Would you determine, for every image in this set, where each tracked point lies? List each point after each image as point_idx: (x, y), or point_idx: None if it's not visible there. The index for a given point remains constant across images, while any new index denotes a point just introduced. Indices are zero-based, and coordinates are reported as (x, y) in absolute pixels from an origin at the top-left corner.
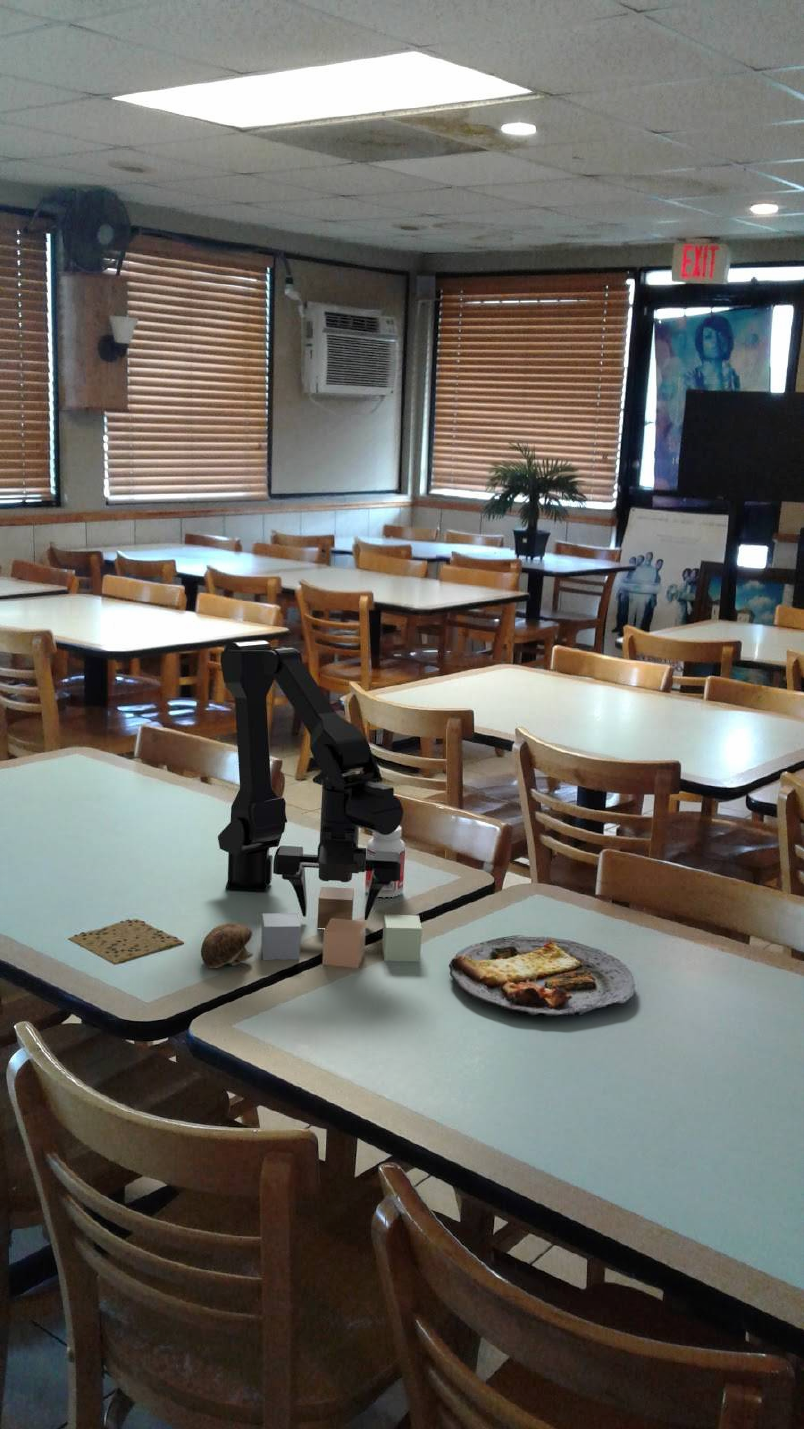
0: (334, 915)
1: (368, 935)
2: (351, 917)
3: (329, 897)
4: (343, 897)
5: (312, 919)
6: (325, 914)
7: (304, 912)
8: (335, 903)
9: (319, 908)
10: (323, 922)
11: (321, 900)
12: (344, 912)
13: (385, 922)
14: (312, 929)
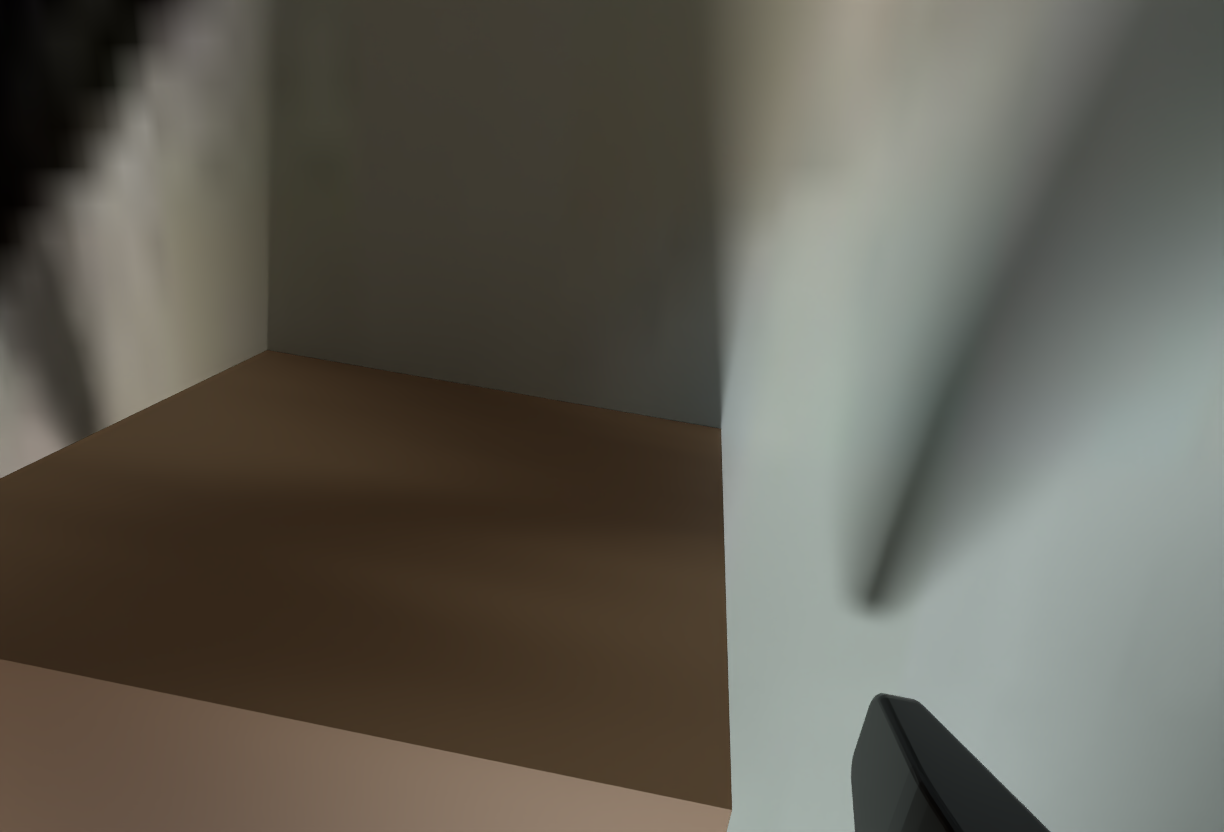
0: (412, 479)
1: (24, 199)
2: (127, 421)
3: (394, 824)
4: (13, 787)
5: (740, 737)
6: (577, 516)
7: (917, 731)
8: (280, 615)
9: (695, 602)
10: (625, 460)
11: (643, 732)
12: (193, 476)
13: None
14: (787, 432)
